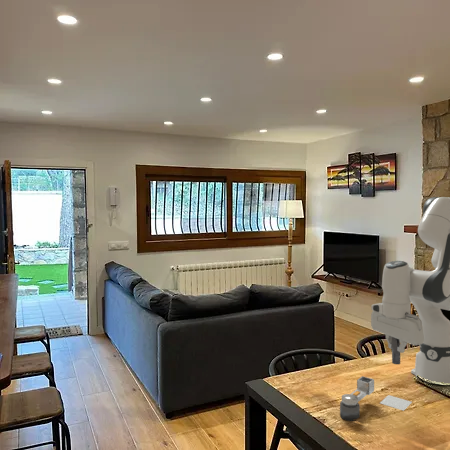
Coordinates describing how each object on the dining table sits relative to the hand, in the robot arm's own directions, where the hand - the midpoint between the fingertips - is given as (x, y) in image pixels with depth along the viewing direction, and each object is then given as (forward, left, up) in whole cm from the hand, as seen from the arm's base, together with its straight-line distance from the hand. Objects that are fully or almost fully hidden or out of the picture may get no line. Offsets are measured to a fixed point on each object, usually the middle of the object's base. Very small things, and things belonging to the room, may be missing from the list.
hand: (396, 350), depth 140 cm
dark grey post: (0, 0, -4) cm, 4 cm away
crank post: (+18, -8, -19) cm, 27 cm away
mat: (0, 0, -19) cm, 19 cm away
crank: (+12, -8, -14) cm, 21 cm away
